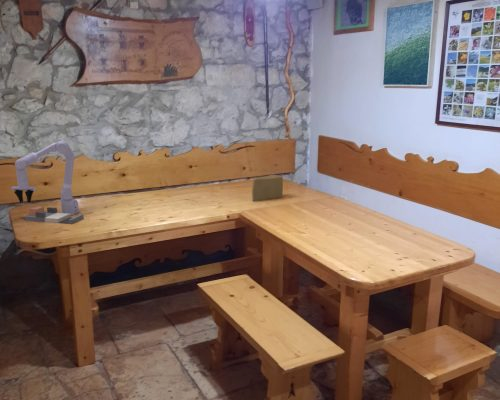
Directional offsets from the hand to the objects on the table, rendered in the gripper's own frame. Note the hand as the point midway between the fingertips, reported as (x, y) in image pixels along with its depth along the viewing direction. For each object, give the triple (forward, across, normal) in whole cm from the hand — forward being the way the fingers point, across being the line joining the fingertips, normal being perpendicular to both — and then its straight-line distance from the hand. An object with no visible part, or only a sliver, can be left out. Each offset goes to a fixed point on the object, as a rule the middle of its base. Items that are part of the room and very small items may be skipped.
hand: (25, 202), depth 298 cm
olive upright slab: (+10, -136, -60) cm, 149 cm away
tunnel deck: (+9, -18, +2) cm, 21 cm away
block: (+7, -7, +1) cm, 10 cm away
